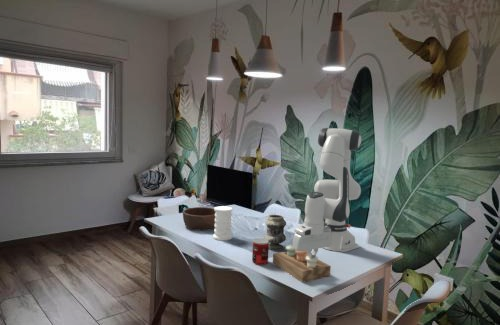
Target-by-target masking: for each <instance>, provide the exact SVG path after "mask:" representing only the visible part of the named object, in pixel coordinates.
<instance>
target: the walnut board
mask: <svg viewBox="0 0 500 325" xmlns="http://www.w3.org/2000/svg"><path fill="white" fill-rule="evenodd" d="M306 256H308V253H307V254H305V261H303V262H299V261H297V253H295V256H288V255H287V250H286V251H281V252H276V253H275V252H274V253H273V254H272V264H273V265H275V266H276V267H278V268H279V269H281V270H282V271H283V272H285V271H286V272H285V273H286V274H288V273H289V274H288V275H290V276H291V275H292V276H291V277H293V278H295V279H296V280H298V281H299V282H300V283H306V282H312V281H316V280H319V279H325V278H328V277H330V276H331V269H332V268H331V267H332V266H331V265H330V264H328V263H326V262H323V261H322V260H320V259H318V261H317V262H316V267H315V268H309V267H307V261H306Z"/></svg>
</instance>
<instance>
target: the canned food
mask: <svg viewBox="0 0 500 325" xmlns="http://www.w3.org/2000/svg"><path fill="white" fill-rule="evenodd" d="M269 244H270V243H269V241H268V240H266V239H265V238H254V239H253V241H252V254H251V256H252V257H251V258H252V259H251V260H252V263H253V264H255V265H258V266H264V265H267V264H268V262H269V250H270V249H269Z"/></svg>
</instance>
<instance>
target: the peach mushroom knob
mask: <svg viewBox="0 0 500 325" xmlns="http://www.w3.org/2000/svg"><path fill="white" fill-rule="evenodd" d="M295 253H297V261H299V262H303V261H305V254H308V252H307V250H305V251H299V252H298V251H296V250H295Z"/></svg>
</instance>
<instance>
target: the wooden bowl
mask: <svg viewBox="0 0 500 325" xmlns="http://www.w3.org/2000/svg"><path fill="white" fill-rule="evenodd" d="M214 208H215V207H208V206H207V207H205V206H197V207H196V206H195V207H189V208H185V209H184V210H182V217H183V223H184V225H185V227H186V228H188V229H190V230H194V231H209V230H213V229H215V226H214V225H215V211H214Z"/></svg>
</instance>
